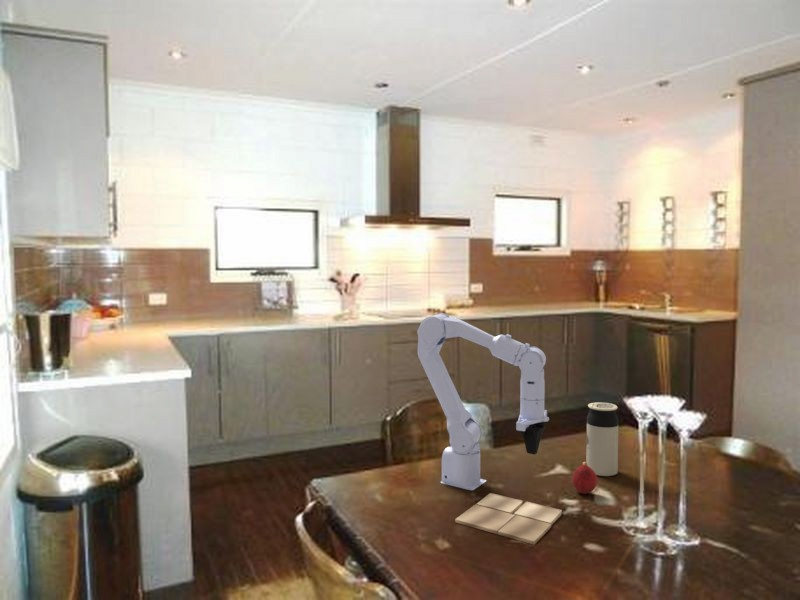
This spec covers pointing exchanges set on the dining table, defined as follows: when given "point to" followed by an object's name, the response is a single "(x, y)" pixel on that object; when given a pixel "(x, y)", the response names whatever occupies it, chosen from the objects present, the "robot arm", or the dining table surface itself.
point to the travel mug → (602, 439)
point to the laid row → (504, 524)
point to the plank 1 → (500, 503)
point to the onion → (584, 479)
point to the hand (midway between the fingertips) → (532, 453)
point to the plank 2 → (539, 512)
